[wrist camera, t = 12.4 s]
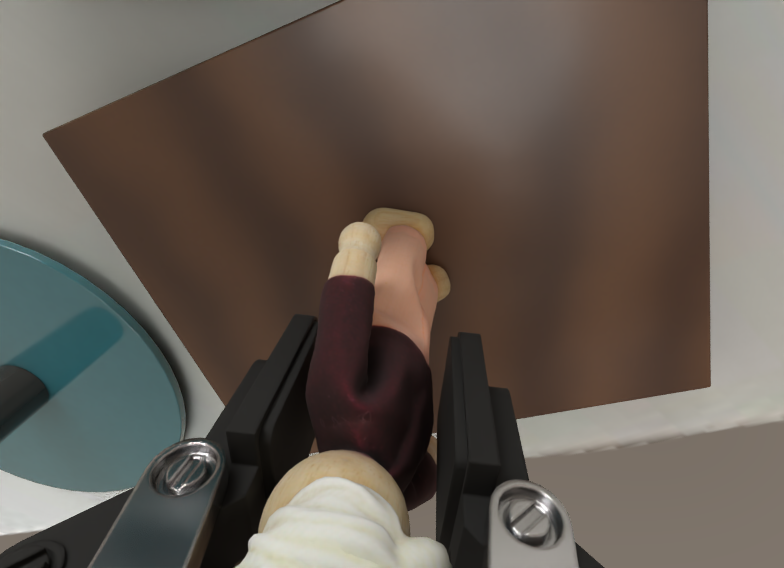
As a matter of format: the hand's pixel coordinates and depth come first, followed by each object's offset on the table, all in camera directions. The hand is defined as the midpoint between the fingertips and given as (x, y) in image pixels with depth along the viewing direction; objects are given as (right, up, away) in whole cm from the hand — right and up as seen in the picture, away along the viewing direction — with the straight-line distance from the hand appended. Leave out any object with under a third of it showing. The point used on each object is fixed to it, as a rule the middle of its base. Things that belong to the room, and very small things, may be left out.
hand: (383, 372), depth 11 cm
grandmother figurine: (+1, +3, +6) cm, 6 cm away
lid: (-20, -3, +12) cm, 23 cm away
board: (+1, +4, +7) cm, 8 cm away
